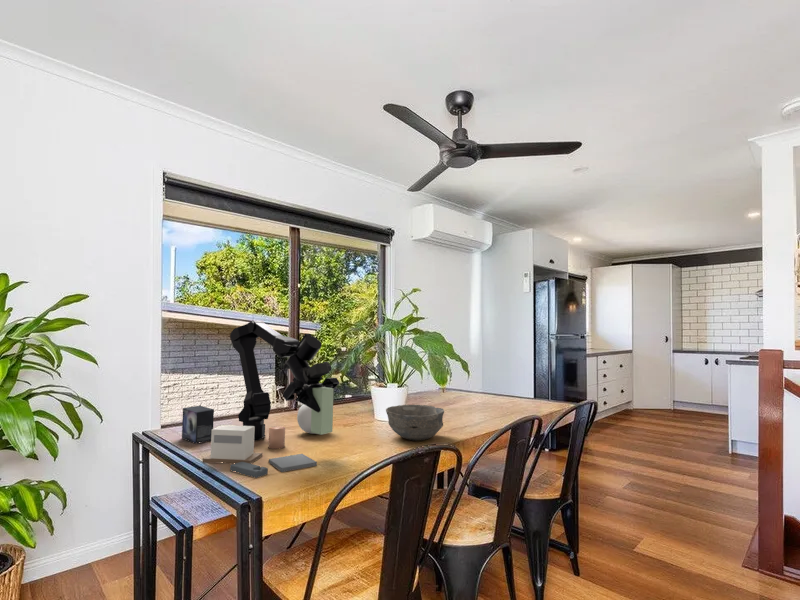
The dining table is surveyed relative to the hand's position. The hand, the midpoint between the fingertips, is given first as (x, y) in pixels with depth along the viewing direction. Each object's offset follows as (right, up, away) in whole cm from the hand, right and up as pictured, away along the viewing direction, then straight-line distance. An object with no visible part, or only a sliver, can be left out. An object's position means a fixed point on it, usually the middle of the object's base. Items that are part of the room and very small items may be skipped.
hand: (325, 410), depth 131 cm
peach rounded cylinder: (-17, -14, +10) cm, 24 cm away
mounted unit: (-26, -13, -5) cm, 29 cm away
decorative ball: (-9, -16, +29) cm, 34 cm away
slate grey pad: (-8, -13, -9) cm, 17 cm away
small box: (-47, -15, +18) cm, 52 cm away
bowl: (+27, -16, +24) cm, 40 cm away
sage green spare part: (-1, -7, 0) cm, 7 cm away
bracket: (-18, -13, -16) cm, 27 cm away
